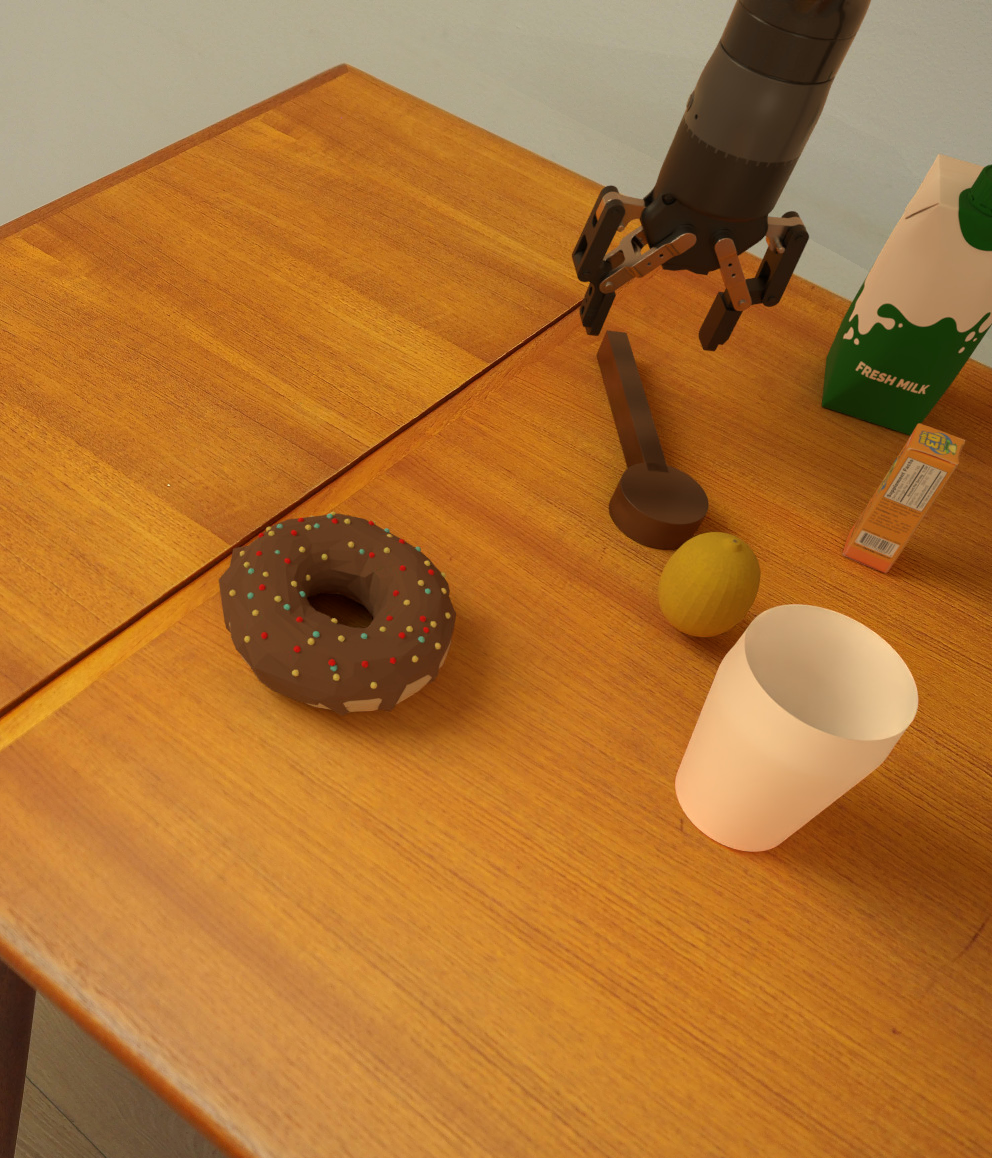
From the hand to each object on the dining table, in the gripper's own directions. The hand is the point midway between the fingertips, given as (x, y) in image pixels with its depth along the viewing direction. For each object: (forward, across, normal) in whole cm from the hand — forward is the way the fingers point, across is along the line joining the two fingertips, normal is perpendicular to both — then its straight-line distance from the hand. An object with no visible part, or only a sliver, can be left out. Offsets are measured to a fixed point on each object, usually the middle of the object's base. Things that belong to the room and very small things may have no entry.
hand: (648, 336), depth 93 cm
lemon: (+7, 0, -22) cm, 23 cm away
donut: (+7, -23, -26) cm, 35 cm away
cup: (+6, 0, -35) cm, 36 cm away
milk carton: (+6, +21, +5) cm, 23 cm away
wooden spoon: (+6, 0, -5) cm, 8 cm away
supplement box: (+6, +15, -13) cm, 21 cm away
